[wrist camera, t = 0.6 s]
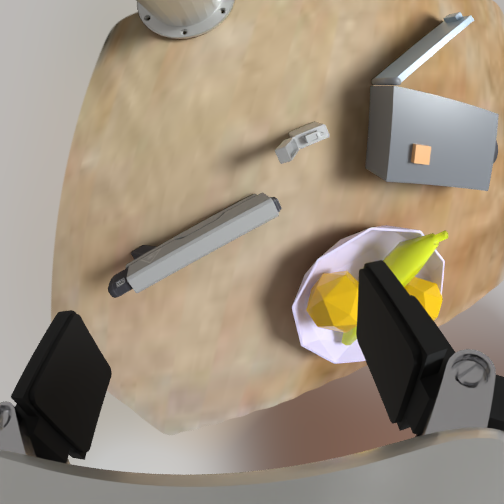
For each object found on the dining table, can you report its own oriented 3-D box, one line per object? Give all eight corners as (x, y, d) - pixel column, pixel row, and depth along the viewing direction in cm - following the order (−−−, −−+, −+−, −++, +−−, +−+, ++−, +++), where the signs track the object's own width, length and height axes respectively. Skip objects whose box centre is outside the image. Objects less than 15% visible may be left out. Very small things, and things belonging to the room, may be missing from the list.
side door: (366, 77, 35) (388, 75, 30) (441, 16, 30) (467, 10, 24) (374, 86, 36) (397, 86, 30) (448, 25, 31) (474, 20, 25)
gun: (111, 262, 45) (101, 293, 36) (254, 182, 47) (277, 196, 38) (120, 275, 46) (112, 308, 38) (261, 196, 48) (284, 213, 39)
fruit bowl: (355, 358, 60) (372, 400, 50) (253, 297, 51) (258, 346, 41) (456, 263, 51) (489, 296, 41) (376, 166, 42) (415, 189, 32)
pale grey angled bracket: (316, 121, 39) (334, 126, 32) (320, 132, 39) (339, 141, 32) (267, 141, 40) (275, 151, 33) (272, 153, 40) (281, 165, 33)
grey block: (370, 86, 36) (396, 86, 29) (476, 110, 37) (508, 117, 30) (365, 168, 42) (389, 183, 35) (468, 178, 43) (497, 193, 36)
